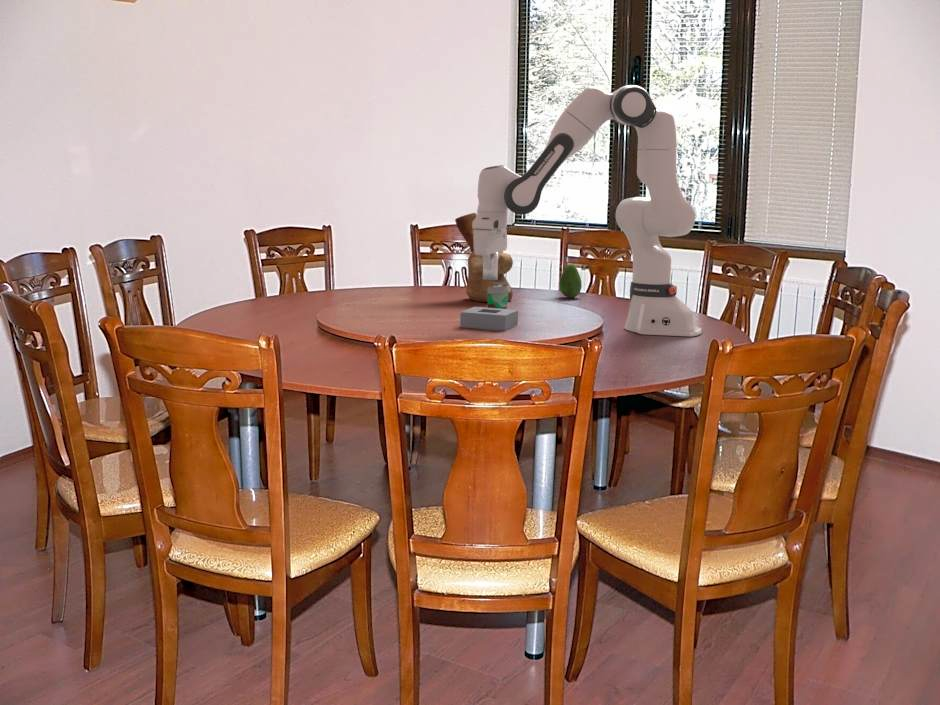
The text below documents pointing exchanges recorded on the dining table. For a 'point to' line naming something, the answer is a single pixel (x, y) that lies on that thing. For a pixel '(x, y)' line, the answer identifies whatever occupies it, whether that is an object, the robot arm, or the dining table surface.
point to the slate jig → (489, 318)
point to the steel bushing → (492, 268)
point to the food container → (498, 295)
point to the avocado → (570, 282)
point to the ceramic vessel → (481, 264)
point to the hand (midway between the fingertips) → (490, 268)
